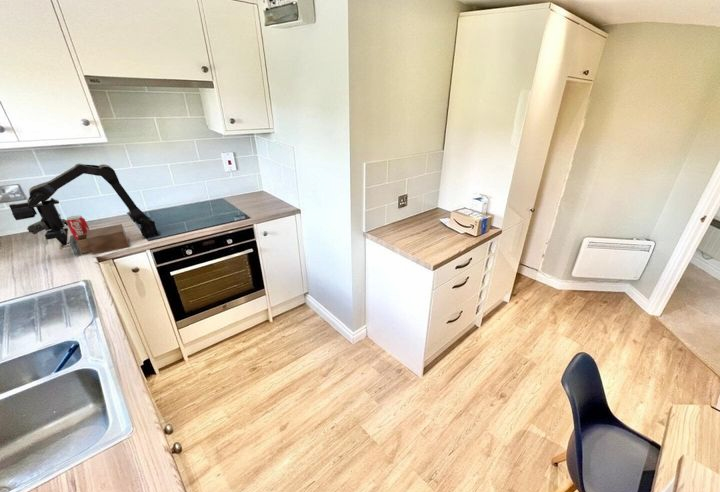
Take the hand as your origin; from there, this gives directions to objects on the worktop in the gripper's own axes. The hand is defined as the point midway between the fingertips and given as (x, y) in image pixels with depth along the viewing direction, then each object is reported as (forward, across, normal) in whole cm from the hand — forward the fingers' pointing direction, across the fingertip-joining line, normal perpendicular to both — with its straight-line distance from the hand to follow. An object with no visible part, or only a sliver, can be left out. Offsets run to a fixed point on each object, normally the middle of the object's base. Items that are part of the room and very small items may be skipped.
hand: (65, 245), depth 151 cm
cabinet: (+5, 0, +16) cm, 16 cm away
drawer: (+4, 0, +6) cm, 8 cm away
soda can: (+5, -20, +4) cm, 21 cm away
